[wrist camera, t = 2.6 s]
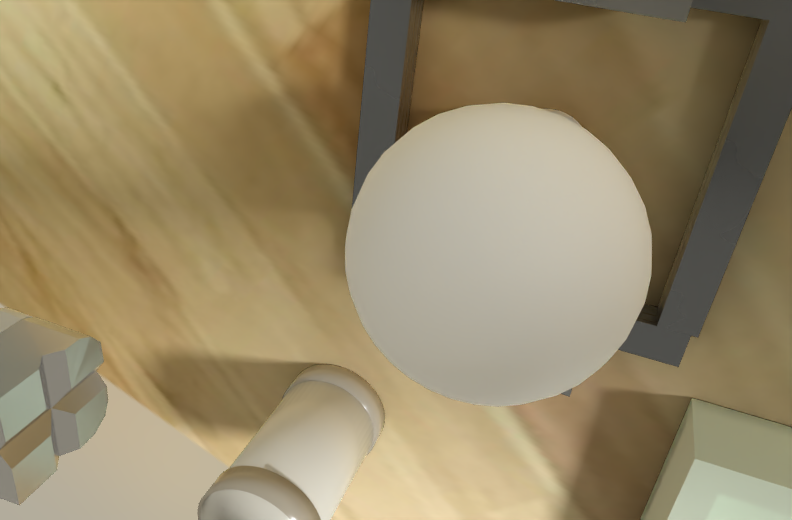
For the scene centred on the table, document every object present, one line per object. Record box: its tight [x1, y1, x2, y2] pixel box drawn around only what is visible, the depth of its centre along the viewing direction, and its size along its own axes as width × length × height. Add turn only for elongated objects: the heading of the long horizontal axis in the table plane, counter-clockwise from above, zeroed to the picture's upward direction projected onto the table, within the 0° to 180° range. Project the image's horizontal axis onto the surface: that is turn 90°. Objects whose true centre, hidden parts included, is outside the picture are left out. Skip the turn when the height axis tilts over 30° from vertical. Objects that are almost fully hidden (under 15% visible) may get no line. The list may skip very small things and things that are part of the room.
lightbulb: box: [345, 103, 652, 407], centre depth 16 cm, size 6×6×11 cm
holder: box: [352, 0, 792, 397], centre depth 19 cm, size 11×12×4 cm
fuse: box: [198, 364, 385, 520], centre depth 26 cm, size 4×4×7 cm
